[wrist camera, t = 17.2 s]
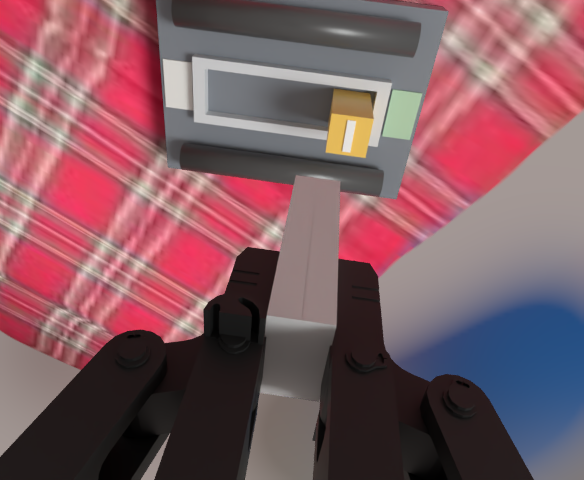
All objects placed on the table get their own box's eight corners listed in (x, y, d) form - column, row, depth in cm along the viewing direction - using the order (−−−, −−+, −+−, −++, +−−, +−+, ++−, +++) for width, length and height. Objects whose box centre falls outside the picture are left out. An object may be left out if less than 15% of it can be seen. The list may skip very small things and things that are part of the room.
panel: (176, 156, 44) (159, 178, 40) (165, -29, 35) (141, -24, 31) (394, 186, 44) (398, 212, 40) (442, 6, 34) (455, 16, 30)
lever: (328, 123, 38) (325, 153, 33) (333, 88, 36) (331, 113, 31) (363, 128, 38) (365, 158, 33) (370, 93, 36) (373, 119, 31)
